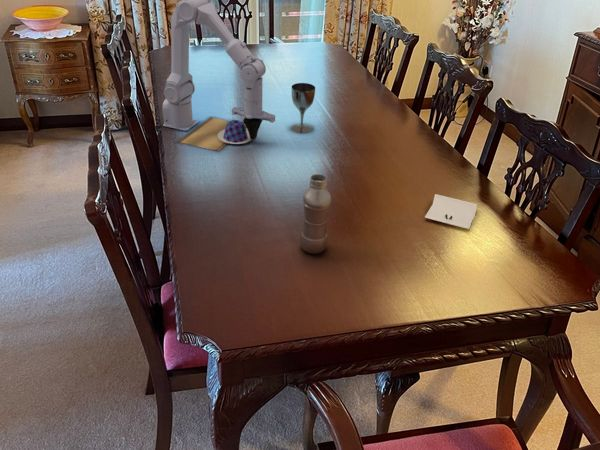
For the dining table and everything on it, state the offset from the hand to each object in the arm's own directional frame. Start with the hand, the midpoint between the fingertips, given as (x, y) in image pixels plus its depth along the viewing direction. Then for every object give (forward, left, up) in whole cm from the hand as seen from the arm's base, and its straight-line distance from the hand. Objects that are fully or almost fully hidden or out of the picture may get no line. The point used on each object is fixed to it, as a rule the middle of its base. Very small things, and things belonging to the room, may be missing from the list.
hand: (253, 138), depth 182 cm
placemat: (-15, 0, -1) cm, 15 cm away
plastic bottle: (+38, -47, -2) cm, 61 cm away
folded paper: (+67, -17, -2) cm, 70 cm away
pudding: (-7, 0, -1) cm, 7 cm away
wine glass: (+10, +17, -2) cm, 20 cm away
